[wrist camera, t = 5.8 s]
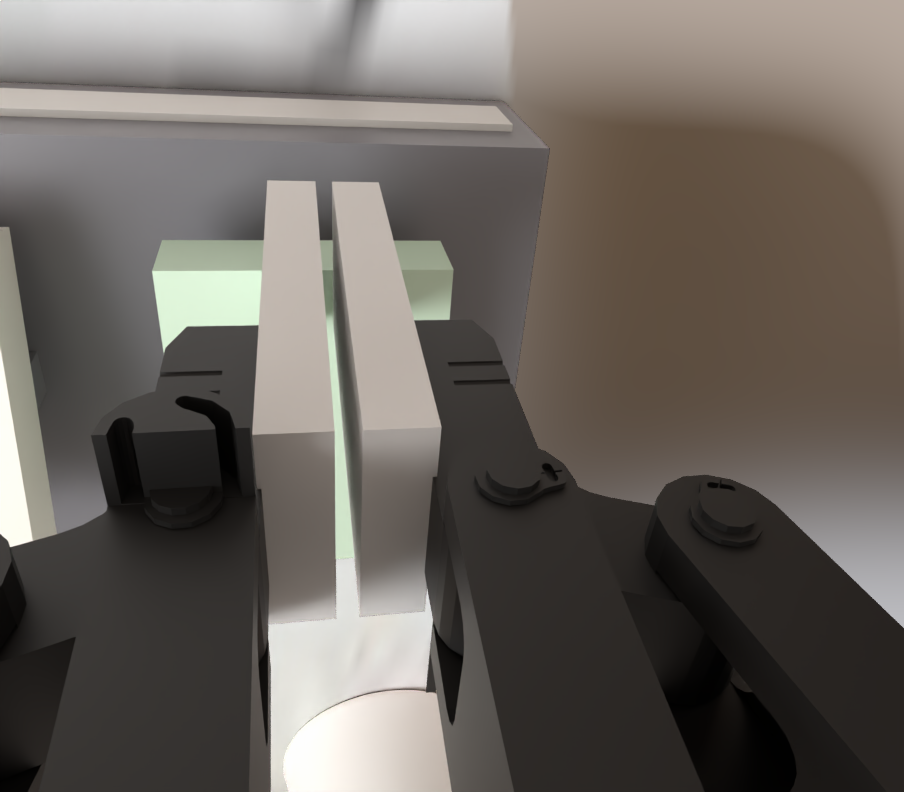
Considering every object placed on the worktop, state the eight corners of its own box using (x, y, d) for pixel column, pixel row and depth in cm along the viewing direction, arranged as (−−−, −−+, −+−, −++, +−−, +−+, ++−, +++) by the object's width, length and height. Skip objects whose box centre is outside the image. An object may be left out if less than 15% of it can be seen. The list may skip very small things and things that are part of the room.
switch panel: (-178, 459, 21) (-284, 596, 17) (-362, 60, 16) (-580, 125, 12) (467, 429, 25) (504, 536, 21) (504, 95, 19) (563, 154, 15)
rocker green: (199, 526, 18) (194, 570, 17) (162, 240, 14) (152, 271, 13) (420, 512, 19) (430, 552, 18) (440, 240, 15) (453, 269, 14)
